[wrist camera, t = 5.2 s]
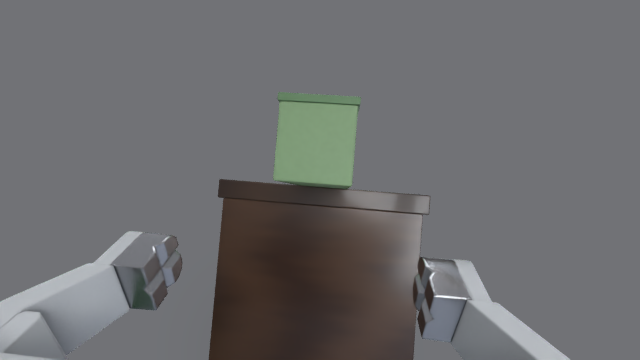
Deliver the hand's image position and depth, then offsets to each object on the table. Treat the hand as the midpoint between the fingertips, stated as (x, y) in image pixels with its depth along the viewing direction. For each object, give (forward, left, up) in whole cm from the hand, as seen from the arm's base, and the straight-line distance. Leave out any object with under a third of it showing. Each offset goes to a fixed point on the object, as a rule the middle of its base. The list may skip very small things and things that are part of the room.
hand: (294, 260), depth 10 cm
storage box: (0, -17, +3) cm, 17 cm away
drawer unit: (0, -21, -23) cm, 32 cm away
